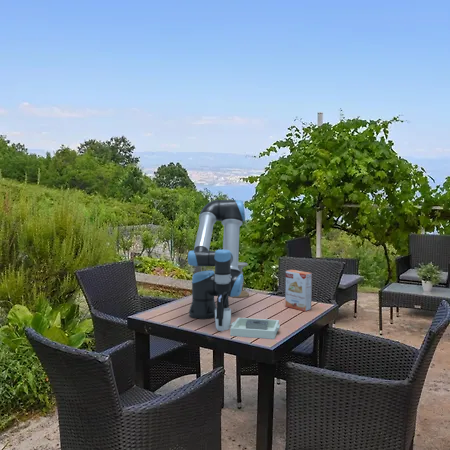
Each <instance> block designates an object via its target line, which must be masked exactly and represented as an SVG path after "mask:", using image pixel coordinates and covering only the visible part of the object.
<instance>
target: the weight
mask: <svg viewBox="0 0 450 450" xmlns="http://www.w3.org/2000/svg"><path fill="white" fill-rule="evenodd" d="M246 329H259V330H267V329H268V322H264V321H257V320H254V321H248V320H247V322H246Z"/></svg>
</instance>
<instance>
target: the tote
mask: <svg viewBox="0 0 450 450" xmlns="http://www.w3.org/2000/svg"><path fill="white" fill-rule="evenodd" d="M247 320H248V321H254V320H257V321H264V322H268V329H267V330H259V329H246V322H247ZM280 328H281V325H280V320H278V319H267V318H266V319H265V318H252V317H251V318H250V317H248V318H247V317H237V318H236V319H235V321H231V324H230V329H229V330H230V331H229V332H230V333H229V334H230V336H231V337H240V338H241V337H242V338H257V339H267V340H269V339H270V340H275V338H276V336H277V334H278V331H279V330H280Z"/></svg>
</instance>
